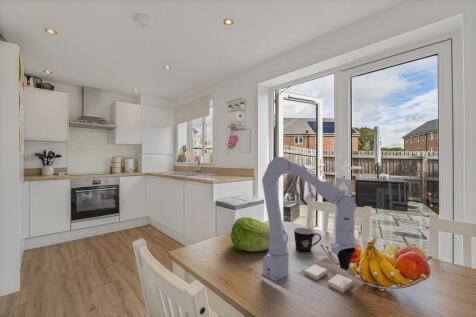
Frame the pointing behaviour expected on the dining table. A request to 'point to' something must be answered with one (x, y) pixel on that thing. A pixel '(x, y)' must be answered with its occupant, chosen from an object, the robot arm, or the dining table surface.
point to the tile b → (340, 283)
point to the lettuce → (250, 235)
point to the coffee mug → (304, 239)
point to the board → (333, 271)
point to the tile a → (315, 272)
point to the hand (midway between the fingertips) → (344, 268)
